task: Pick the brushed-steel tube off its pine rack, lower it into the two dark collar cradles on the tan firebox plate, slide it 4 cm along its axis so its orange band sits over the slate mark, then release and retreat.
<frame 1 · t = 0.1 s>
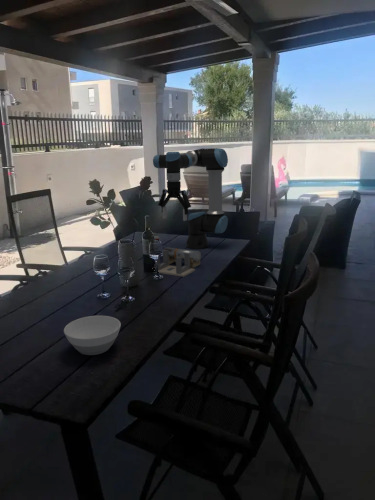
hand: (174, 219, 239), 28 cm above the table, fingers open, 13 cm apart
tube: (182, 259, 251), point 3 cm above the table, touching rack
rack: (182, 264, 252), on the table
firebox: (172, 271, 239), on the table
mug: (153, 258, 266), on the table
bowl: (94, 348, 152), on the table
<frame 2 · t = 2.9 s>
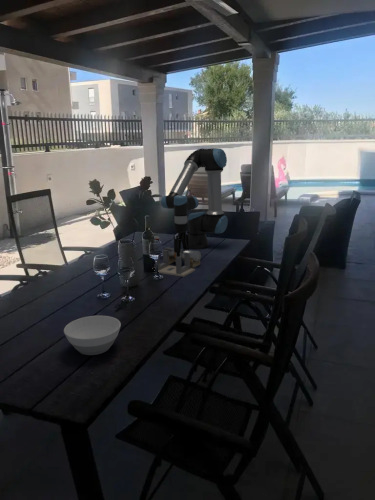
hand: (182, 261, 251), 1 cm above the table, fingers closed on tube, 6 cm apart
tube: (182, 259, 251), point 3 cm above the table, touching gripper, rack
everything else where it was.
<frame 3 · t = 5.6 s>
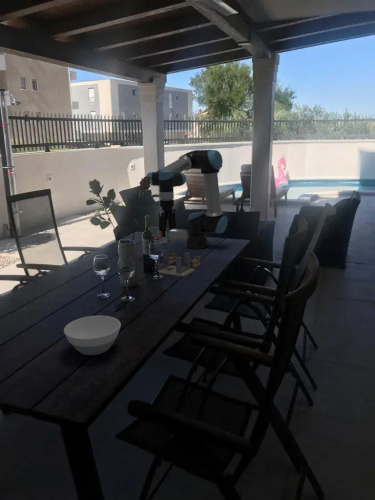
hand: (168, 241, 236), 17 cm above the table, fingers closed on tube, 6 cm apart
tube: (168, 238, 235), point 18 cm above the table, touching gripper
everything else where it was.
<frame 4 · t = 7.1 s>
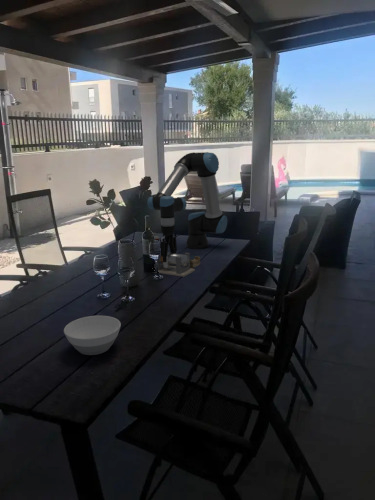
hand: (169, 265, 239), 3 cm above the table, fingers closed on tube, 6 cm apart
tube: (169, 263, 239), point 4 cm above the table, touching gripper
everything else where it was.
when the fingers open (3 cm above the table, at t = 8.3 s): tube drops 1 cm, resting on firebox.
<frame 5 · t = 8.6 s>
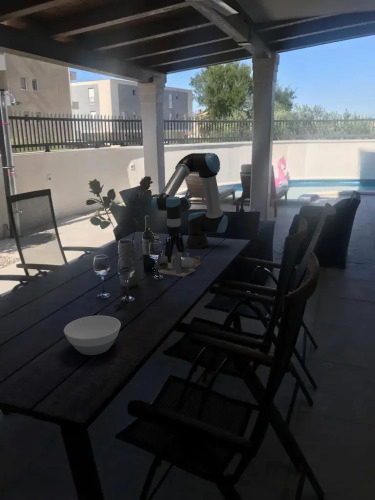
hand: (175, 265, 237), 3 cm above the table, fingers open, 9 cm apart
tube: (175, 266, 237), point 3 cm above the table, touching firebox
everything else where it was.
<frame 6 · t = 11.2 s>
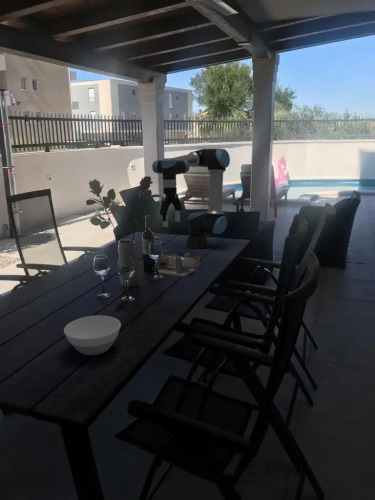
hand: (171, 224, 245), 24 cm above the table, fingers open, 13 cm apart
nothing on the table moved.
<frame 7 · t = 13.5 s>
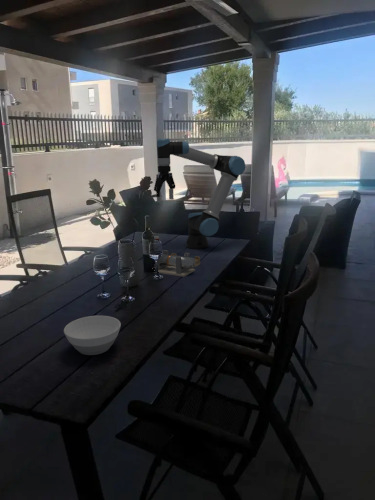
hand: (165, 200, 262), 35 cm above the table, fingers open, 13 cm apart
nothing on the table moved.
at the end: tube 0.1 cm from the target spot on the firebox, point 3.0 cm above the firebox's base; the gripper is holding nothing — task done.
